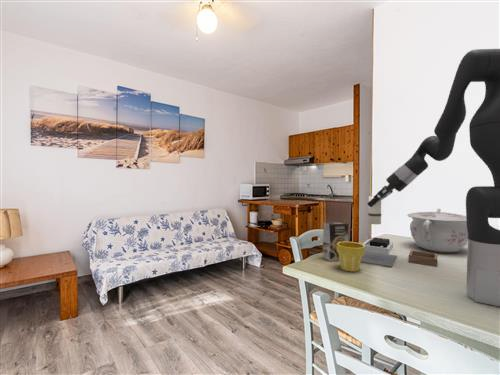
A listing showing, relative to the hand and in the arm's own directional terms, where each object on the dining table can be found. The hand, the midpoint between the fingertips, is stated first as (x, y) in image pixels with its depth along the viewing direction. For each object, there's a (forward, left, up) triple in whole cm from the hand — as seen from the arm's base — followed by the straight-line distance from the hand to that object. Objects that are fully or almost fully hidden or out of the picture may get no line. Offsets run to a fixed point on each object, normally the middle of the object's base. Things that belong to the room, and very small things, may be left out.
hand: (370, 204), depth 118 cm
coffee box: (-10, +12, -24) cm, 29 cm away
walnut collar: (+8, -20, -24) cm, 32 cm away
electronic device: (+19, -1, -24) cm, 31 cm away
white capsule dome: (0, -2, -8) cm, 8 cm away
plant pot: (-20, +3, -24) cm, 32 cm away
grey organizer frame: (+20, 0, -24) cm, 31 cm away
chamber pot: (+36, -25, -24) cm, 50 cm away
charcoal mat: (0, -2, -24) cm, 24 cm away
